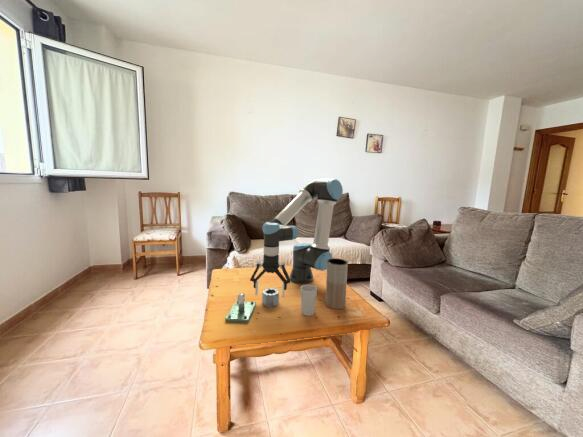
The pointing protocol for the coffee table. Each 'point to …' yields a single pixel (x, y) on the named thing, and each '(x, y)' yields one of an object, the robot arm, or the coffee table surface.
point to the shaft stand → (241, 310)
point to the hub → (270, 297)
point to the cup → (308, 299)
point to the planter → (336, 283)
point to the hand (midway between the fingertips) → (269, 295)
